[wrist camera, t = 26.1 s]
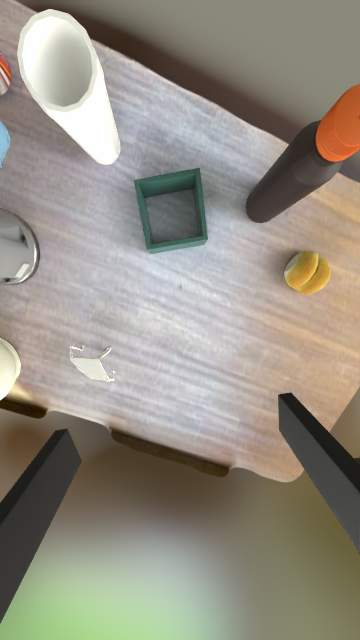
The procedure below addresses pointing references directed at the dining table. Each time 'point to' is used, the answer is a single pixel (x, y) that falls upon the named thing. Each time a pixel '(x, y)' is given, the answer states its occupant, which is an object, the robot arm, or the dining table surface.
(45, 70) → the foam cup
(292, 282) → the bread roll
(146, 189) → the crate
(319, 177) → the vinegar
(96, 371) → the white legged flat piece
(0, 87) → the soda can
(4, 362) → the kettle
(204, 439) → the dining table surface
